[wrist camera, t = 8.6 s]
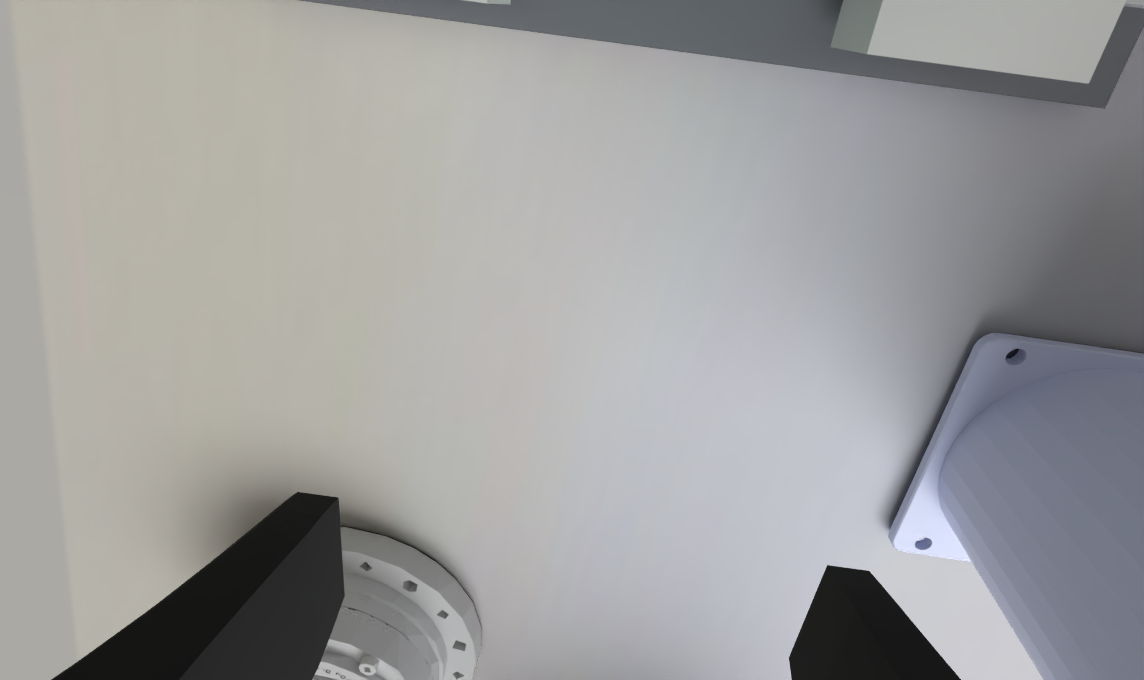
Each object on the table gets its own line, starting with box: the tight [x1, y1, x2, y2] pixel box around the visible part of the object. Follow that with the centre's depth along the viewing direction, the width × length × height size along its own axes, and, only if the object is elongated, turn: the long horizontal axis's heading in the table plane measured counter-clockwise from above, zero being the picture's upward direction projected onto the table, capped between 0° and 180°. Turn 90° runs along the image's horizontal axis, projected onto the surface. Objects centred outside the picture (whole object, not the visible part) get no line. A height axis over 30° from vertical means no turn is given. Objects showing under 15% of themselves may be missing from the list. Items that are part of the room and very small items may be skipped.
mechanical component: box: [312, 527, 481, 680], centre depth 24 cm, size 10×4×10 cm
